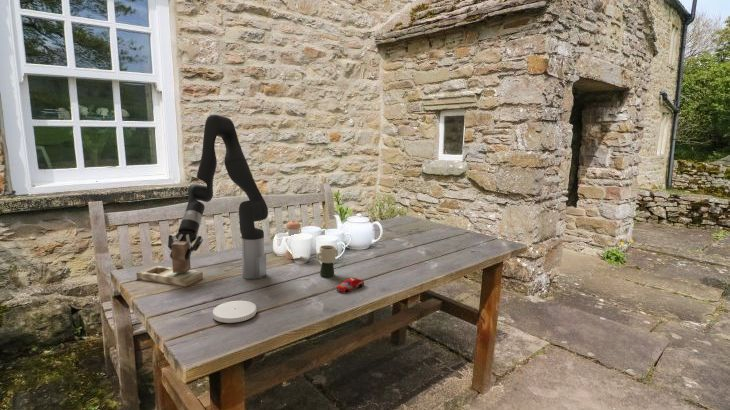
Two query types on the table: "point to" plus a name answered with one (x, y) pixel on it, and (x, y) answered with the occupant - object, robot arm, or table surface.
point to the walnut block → (180, 257)
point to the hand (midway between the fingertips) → (179, 258)
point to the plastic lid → (234, 311)
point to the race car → (350, 285)
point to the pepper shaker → (292, 233)
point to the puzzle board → (169, 275)
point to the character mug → (327, 259)
